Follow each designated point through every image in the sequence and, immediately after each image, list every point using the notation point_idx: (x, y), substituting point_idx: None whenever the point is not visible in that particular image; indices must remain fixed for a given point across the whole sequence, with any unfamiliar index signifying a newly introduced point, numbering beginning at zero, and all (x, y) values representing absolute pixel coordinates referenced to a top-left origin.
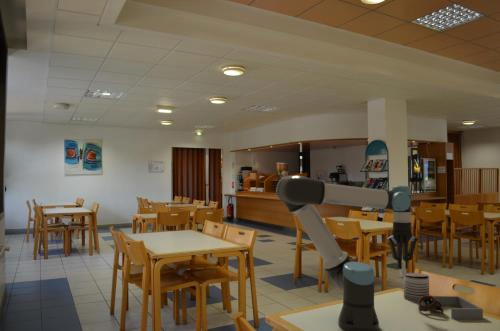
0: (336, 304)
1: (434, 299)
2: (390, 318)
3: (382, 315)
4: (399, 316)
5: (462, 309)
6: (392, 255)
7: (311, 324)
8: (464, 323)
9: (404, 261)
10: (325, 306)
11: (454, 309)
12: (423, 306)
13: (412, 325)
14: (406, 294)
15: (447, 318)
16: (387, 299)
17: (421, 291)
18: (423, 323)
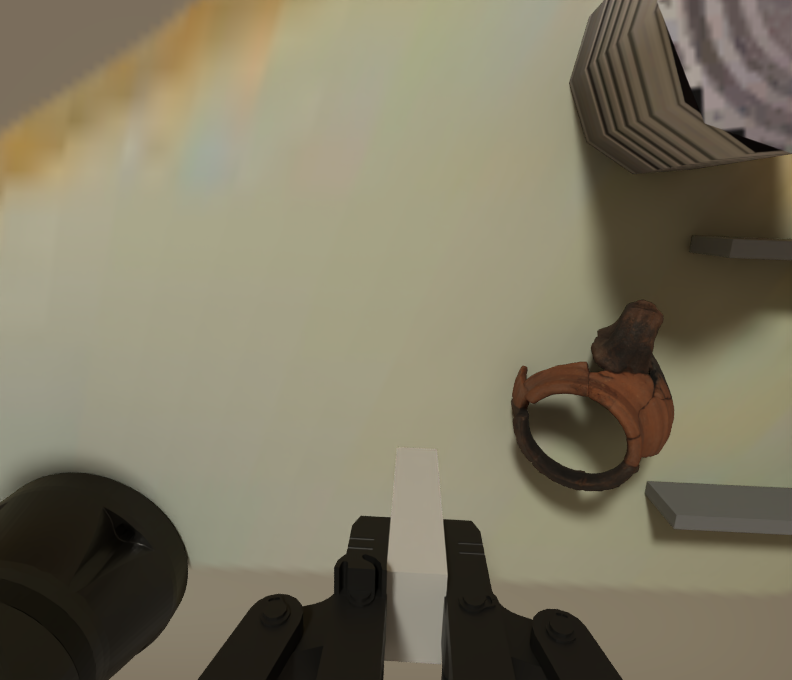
0: (7, 203)
1: (619, 477)
2: (291, 467)
3: (262, 421)
4: (356, 441)
5: (738, 530)
6: (221, 653)
7: None
8: (663, 552)
9: (435, 645)
10: None
11: (685, 528)
12: (522, 452)
13: None
14: (587, 85)
15: None
16: (420, 84)
17: (701, 164)
18: None
